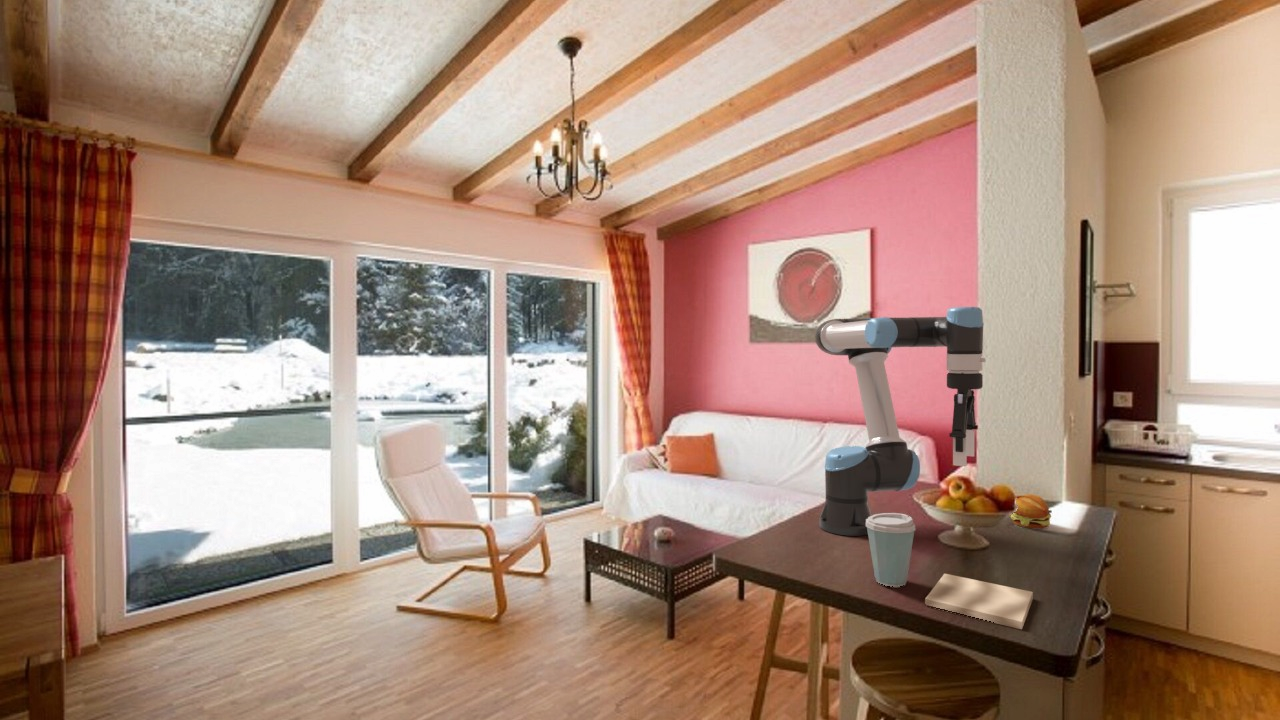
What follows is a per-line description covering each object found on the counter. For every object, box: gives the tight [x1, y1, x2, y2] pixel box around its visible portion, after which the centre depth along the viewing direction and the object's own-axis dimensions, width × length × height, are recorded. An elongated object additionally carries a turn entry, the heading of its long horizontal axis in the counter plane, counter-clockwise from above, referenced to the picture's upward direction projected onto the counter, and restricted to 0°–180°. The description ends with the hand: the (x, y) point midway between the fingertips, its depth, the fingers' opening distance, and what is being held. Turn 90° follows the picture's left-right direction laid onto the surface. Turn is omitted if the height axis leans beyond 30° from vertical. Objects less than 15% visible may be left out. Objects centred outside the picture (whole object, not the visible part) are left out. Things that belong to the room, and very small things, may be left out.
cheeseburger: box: [1010, 494, 1052, 530], centre depth 177 cm, size 10×11×10 cm
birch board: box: [924, 573, 1034, 630], centre depth 126 cm, size 17×17×2 cm
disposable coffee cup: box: [865, 512, 917, 588], centre depth 137 cm, size 11×11×15 cm
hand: (964, 460), depth 145 cm, fingers open, 13 cm apart
